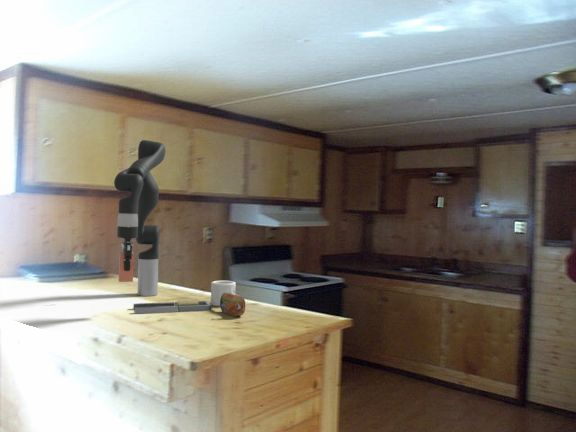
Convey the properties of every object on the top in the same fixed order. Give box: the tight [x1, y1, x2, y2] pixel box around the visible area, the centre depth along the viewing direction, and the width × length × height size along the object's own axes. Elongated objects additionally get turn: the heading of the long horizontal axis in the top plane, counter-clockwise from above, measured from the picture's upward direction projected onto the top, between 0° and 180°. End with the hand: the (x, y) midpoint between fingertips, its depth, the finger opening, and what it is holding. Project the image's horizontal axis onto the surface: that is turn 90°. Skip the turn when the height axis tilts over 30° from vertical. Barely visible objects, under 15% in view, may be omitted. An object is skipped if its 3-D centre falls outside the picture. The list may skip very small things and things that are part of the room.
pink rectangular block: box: [118, 251, 135, 283], centre depth 188 cm, size 4×5×11 cm
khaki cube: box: [186, 298, 199, 306], centre depth 199 cm, size 4×4×4 cm
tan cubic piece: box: [176, 298, 189, 307], centre depth 198 cm, size 4×4×4 cm
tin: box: [220, 293, 246, 317], centre depth 195 cm, size 15×3×8 cm, turn 40°
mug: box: [210, 280, 237, 308], centre depth 216 cm, size 14×11×10 cm
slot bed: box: [132, 301, 179, 315], centre depth 194 cm, size 10×16×3 cm, turn 112°
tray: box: [174, 300, 213, 313], centre depth 199 cm, size 10×13×3 cm
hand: (126, 269), depth 188 cm, fingers closed on pink rectangular block, 3 cm apart
